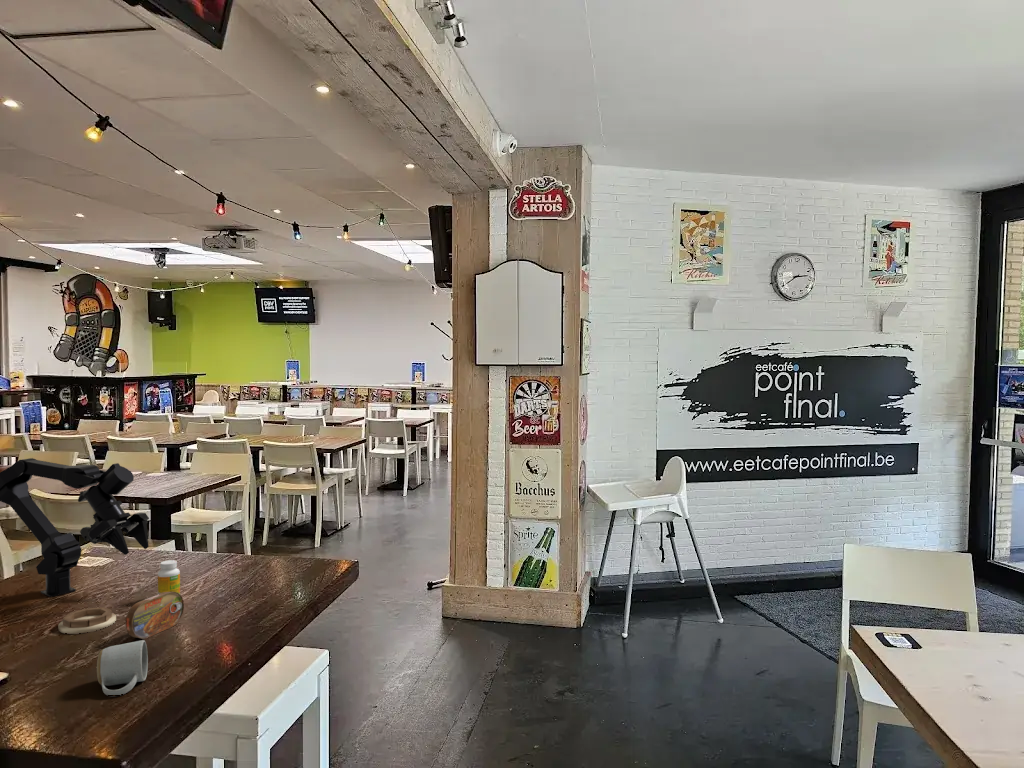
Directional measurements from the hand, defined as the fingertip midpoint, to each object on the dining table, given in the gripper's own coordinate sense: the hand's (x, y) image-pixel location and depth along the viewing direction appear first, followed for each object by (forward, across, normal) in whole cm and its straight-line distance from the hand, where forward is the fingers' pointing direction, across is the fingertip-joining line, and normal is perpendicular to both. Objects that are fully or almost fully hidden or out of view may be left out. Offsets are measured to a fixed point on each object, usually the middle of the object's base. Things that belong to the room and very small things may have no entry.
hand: (137, 550), depth 192 cm
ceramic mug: (+31, +50, +11) cm, 60 cm away
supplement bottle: (+16, -1, -1) cm, 16 cm away
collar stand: (+11, +19, -9) cm, 24 cm away
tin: (+23, +23, +6) cm, 33 cm away
